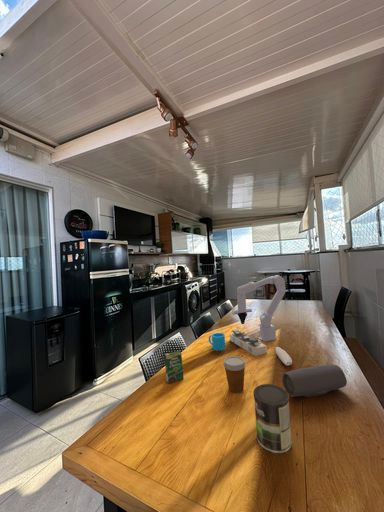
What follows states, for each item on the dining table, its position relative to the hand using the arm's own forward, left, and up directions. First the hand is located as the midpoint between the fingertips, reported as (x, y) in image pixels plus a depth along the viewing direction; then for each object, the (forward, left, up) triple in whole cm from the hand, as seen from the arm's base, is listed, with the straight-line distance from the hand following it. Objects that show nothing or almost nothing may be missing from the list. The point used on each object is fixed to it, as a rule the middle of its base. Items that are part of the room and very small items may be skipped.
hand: (242, 323), depth 153 cm
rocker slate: (+7, +21, -4) cm, 22 cm away
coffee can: (+40, +75, -11) cm, 86 cm away
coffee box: (+58, +28, -11) cm, 65 cm away
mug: (+23, +3, -11) cm, 25 cm away
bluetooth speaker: (+10, +64, -11) cm, 66 cm away
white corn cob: (-1, +36, -11) cm, 38 cm away
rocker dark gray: (+7, +12, -4) cm, 14 cm away
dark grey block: (+7, +3, -4) cm, 8 cm away
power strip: (+6, +9, -10) cm, 15 cm away
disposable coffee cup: (+36, +47, -11) cm, 60 cm away
